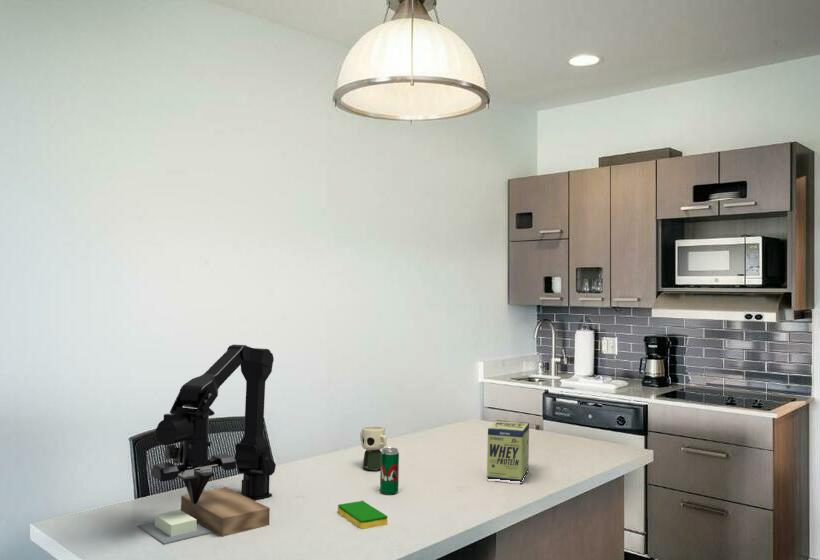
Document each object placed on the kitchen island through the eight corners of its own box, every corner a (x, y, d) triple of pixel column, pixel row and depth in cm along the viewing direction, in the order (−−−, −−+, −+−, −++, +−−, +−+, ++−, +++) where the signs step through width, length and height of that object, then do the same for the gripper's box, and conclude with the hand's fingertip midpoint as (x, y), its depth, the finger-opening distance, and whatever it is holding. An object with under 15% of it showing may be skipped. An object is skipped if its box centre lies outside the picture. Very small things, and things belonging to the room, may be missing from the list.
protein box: (486, 481, 205) (487, 428, 205) (495, 468, 220) (496, 419, 220) (521, 485, 202) (522, 431, 202) (529, 471, 216) (529, 421, 217)
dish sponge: (362, 509, 178) (362, 500, 178) (388, 526, 166) (388, 516, 166) (337, 513, 174) (337, 504, 174) (361, 531, 162) (361, 520, 162)
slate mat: (183, 516, 169) (183, 515, 169) (211, 533, 158) (211, 531, 158) (137, 526, 162) (137, 524, 162) (164, 544, 151) (164, 543, 151)
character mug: (352, 468, 217) (352, 426, 217) (368, 464, 222) (368, 423, 223) (377, 474, 210) (378, 431, 210) (393, 470, 215) (393, 428, 215)
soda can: (400, 490, 194) (401, 447, 194) (395, 496, 189) (396, 451, 189) (383, 489, 195) (384, 446, 195) (377, 494, 190) (378, 450, 190)
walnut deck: (225, 502, 180) (225, 487, 181) (269, 524, 164) (269, 507, 164) (180, 512, 172) (181, 495, 172) (222, 536, 156) (222, 518, 156)
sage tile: (155, 515, 161) (154, 525, 161) (171, 525, 155) (171, 536, 155) (179, 509, 165) (179, 520, 165) (196, 519, 159) (196, 530, 159)
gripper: (216, 426, 176) (215, 488, 175) (142, 436, 163) (141, 503, 163) (238, 434, 167) (236, 499, 167) (162, 444, 155) (160, 514, 155)
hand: (194, 503), depth 163 cm, fingers closed
